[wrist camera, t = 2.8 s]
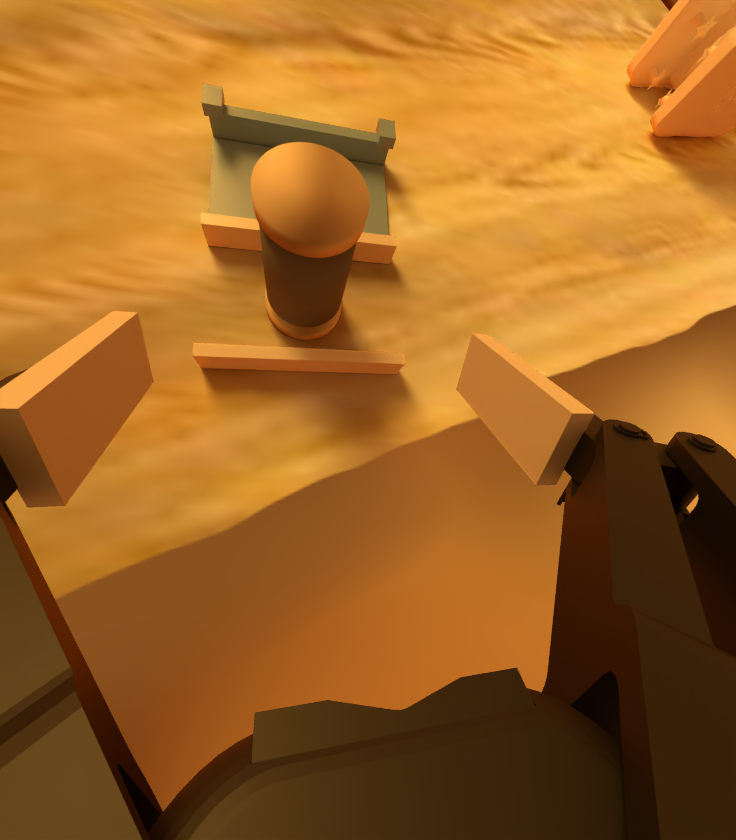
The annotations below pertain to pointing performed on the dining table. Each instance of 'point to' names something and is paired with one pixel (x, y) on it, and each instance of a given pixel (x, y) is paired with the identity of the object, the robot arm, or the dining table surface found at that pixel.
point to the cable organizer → (691, 69)
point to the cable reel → (307, 233)
